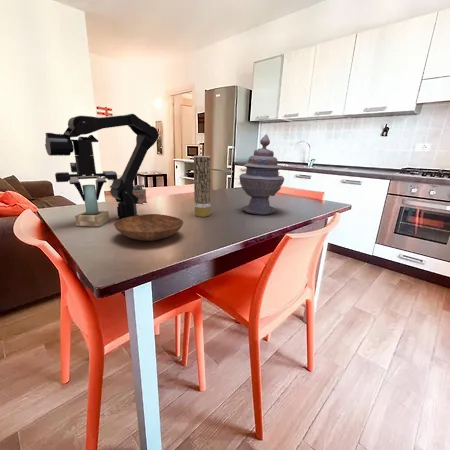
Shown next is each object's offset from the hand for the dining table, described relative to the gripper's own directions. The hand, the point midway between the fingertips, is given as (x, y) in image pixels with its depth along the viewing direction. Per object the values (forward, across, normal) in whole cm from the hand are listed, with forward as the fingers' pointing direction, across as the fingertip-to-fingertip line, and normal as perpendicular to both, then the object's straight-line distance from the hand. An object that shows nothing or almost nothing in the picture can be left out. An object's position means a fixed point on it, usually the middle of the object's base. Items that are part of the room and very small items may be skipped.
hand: (90, 200), depth 88 cm
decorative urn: (+9, -68, +17) cm, 70 cm away
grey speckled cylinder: (+9, -41, +9) cm, 43 cm away
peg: (+4, 0, 0) cm, 4 cm away
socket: (+9, 0, 0) cm, 9 cm away
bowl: (+9, -13, +25) cm, 30 cm away
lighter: (+9, -25, -29) cm, 39 cm away
